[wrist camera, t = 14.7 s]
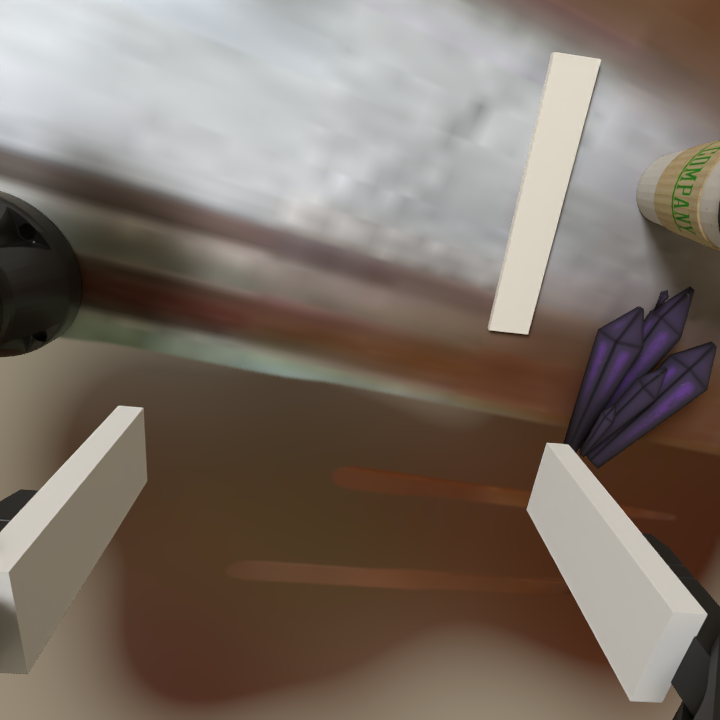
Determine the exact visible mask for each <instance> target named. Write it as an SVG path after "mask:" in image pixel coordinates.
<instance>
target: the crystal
mask: <svg viewBox="0 0 720 720" xmlns="http://www.w3.org/2000/svg"><path fill="white" fill-rule="evenodd" d="M693 293H694V289H693V288H692V287H688V288H687V289H685V290H684V291H682V292H680V293H679V294H677V295H676V296H674V297H672V298H671V299H669V300H668V301H666V300H667V299H668V297H669V296H668V291H667V290H666V291H663V292H661V293H660V296H659V299H658V302H657V304H656V307H655V309H653V310H652V311H650V312H649V314H648V315H647V317H646V318H645V320H644V309H643V308H641V307H637V308H635V309H633V310H631V311H630V312H628V313H626V314H624V315H623V316H621V317H619V318H617V319H616V320H614V321H612V322H610V323H609V324H607V325H605V326H603V327H602V328H600V329H598V332H597V335H596V338H595V342H594V345H593V348H592V351H591V355H590V358H589V361H588V365H587V368H586V371H585V374H584V378H583V381H582V384H581V388H580V391H579V394H578V397H577V401H576V404H575V407H574V411H573V414H572V417H571V420H570V424H569V427H568V430H567V433H566V437H565V440H564V444H567V445H569V446H570V447H571V448H572V449H573V451H574V452H575V453H576V452H577V450H578V449H579V448H580V455H581V456H583V457H584V456H586V455H587V457H588V459H589V460H590V461H591V462H592V463H593V464H594V465H595V466H596V467H597V468H599V467H601V466H602V465H603V464H605V463H606V462H607V461H609V460H610V459H612V458H613V457H615V456H616V455H617V454H619V453H620V452H622V451H623V450H624V449H626V448H627V447H629V446H630V445H631V444H633V443H634V442H635V441H637V440H638V439H640V438H641V437H642V436H644V435H645V434H647V433H648V432H649V431H651V430H652V429H654V428H655V427H656V426H658V425H659V424H660V423H662V422H663V421H665V420H666V419H667V418H669V417H670V416H672V415H673V414H674V413H676V412H677V411H679V410H680V409H681V408H683V407H684V406H685V405H687V404H688V403H690V402H691V401H692V400H694V399H695V398H697V397H698V396H699V395H701V394H702V393H704V392H705V391H706V390H707V388H708V383H709V379H710V374H711V370H712V366H713V361H714V357H715V352H716V348H717V347H716V345H715V344H714V343H712V342H709V343H706V344H703V345H700V346H696V347H693V348H690V349H687V350H684V351H681V352H678V353H675V354H671V355H669V357H668V358H667V359H666V360H665V361H664V362H663V363H662V364H661V366H660V367H659V368H658V369H657V370H655V371H653V372H650V371H651V370H652V369H653V368H654V367H655V366H656V365H657V364H658V363H659V362H660V360H661V359H662V358H663V357H664V356H665V355H666V354H667V353H668V352H669V351H670V350H671V348H672V347H673V346H674V345H675V344H676V343H677V342H678V341H679V340H680V338H681V335H682V332H683V328H684V325H685V321H686V318H687V314H688V311H689V307H690V304H691V300H692V297H693ZM665 301H666V302H665ZM662 303H663V304H662ZM649 372H650V373H649Z"/></svg>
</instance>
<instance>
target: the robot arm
mask: <svg viewBox="0 0 720 720" xmlns="http://www.w3.org/2000/svg"><path fill="white" fill-rule="evenodd" d="M81 295H82V283H81V276H80V271H79V267H78V264H77V261H76V258H75V256H74V254H73V251H72V250H71V248H70V246H69V244H68V242H67V241H66V239H65V238H64V236H63V235H62V234H61V232H60V231H59V230H58V229H57V227H56V226H55V225H54V224H53V223H52V222H51V221H50V220H49V219H48V218H47V217H46V216H45V215H43V214H42V213H41V212H40V211H38V210H37V209H36V208H34V207H33V206H31V205H30V204H28V203H26V202H25V201H23V200H21V199H19V198H17V197H15V196H13V195H10V194H7V193H5V192H1V191H0V357H9V356H17V355H22V354H25V353H29V352H32V351H34V350H37V349H39V348H41V347H43V346H44V345H46V344H48V343H50V342H51V341H53V340H55V339H56V338H58V337H59V336H60V335H62V334H63V333H64V332H65V331H66V330H67V329H68V328H69V326H70V325H71V324H72V322H73V320H74V319H75V317H76V315H77V312H78V309H79V306H80V302H81ZM146 482H147V464H146V444H145V424H144V408H141V407H129V406H118V407H117V408H116V409H115V410H114V411H113V412H112V413H111V414H110V415H109V416H108V417H107V418H106V419H105V421H104V422H103V423H102V424H101V425H100V426H99V427H98V428H97V429H96V430H95V431H94V432H93V433H92V435H91V436H90V437H89V438H88V439H87V440H86V441H85V442H84V443H83V444H82V445H81V446H80V447H79V448H78V450H76V452H75V453H74V454H73V455H72V456H71V457H70V458H69V459H68V460H67V461H66V462H65V463H64V465H62V467H61V468H60V469H59V470H58V471H57V472H56V473H55V474H54V475H53V476H52V477H51V478H50V479H49V480H48V482H47V483H46V484H45V485H44V486H43V487H42V488H41V489H40V490H39V491H35V490H19V491H17V492H16V493H14V494H12V495H11V496H9V497H7V498H5V499H4V500H2V501H0V673H13V674H15V673H16V674H28V673H29V672H30V669H31V668H32V667H33V665H34V663H35V662H36V660H37V659H38V657H39V655H40V654H41V652H42V651H43V649H44V647H45V646H46V644H47V643H48V641H49V639H50V638H51V636H52V634H53V633H54V631H55V630H56V628H57V626H58V625H59V623H60V621H61V620H62V618H63V617H64V615H65V613H66V612H67V610H68V609H69V607H70V605H71V604H72V602H73V600H74V599H75V597H76V596H77V594H78V592H79V591H80V589H81V587H82V586H83V584H84V583H85V581H86V579H87V578H88V576H89V575H90V573H91V571H92V569H93V568H94V566H95V565H96V563H97V562H98V560H99V558H100V557H101V555H102V554H103V552H104V550H105V549H106V547H107V545H108V544H109V542H110V541H111V539H112V537H113V536H114V534H115V533H116V531H117V529H118V528H119V526H120V524H121V523H122V521H123V520H124V518H125V516H126V515H127V513H128V511H129V510H130V508H131V507H132V505H133V503H134V502H135V500H136V499H137V497H138V495H139V494H140V492H141V490H142V489H143V487H144V485H145V484H146ZM527 511H528V513H529V515H530V517H531V519H532V520H533V522H534V524H535V526H536V528H537V530H538V532H539V533H540V535H541V537H542V539H543V541H544V543H545V545H546V546H547V548H548V550H549V552H550V553H551V556H552V557H553V559H554V561H555V563H556V565H557V567H558V569H559V570H560V572H561V574H562V576H563V578H564V580H565V581H566V583H567V585H568V587H569V589H570V591H571V593H572V594H573V596H574V598H575V600H576V602H577V604H578V605H579V607H580V609H581V611H582V613H583V615H584V617H585V618H586V620H587V622H588V624H589V626H590V628H591V629H592V631H593V633H594V635H595V637H596V639H597V641H598V642H599V644H600V646H601V648H602V649H603V652H604V653H605V655H606V657H607V659H608V661H609V663H610V665H611V666H612V668H613V670H614V672H615V674H616V676H617V677H618V679H619V681H620V683H621V685H622V686H623V688H624V690H625V692H626V694H627V696H628V698H629V700H630V701H639V702H640V701H641V702H663V700H664V698H665V696H666V694H667V692H668V690H669V688H670V686H671V684H672V685H673V686H674V688H675V689H676V691H677V693H678V694H679V696H680V697H681V699H682V700H683V701H682V703H681V705H680V707H679V709H678V711H677V712H676V714H675V716H674V718H673V720H720V606H719V605H718V604H717V603H716V602H715V601H714V599H713V598H712V597H711V596H710V595H709V594H708V592H707V591H706V590H705V589H704V588H703V587H702V586H701V585H700V583H699V582H698V581H697V580H695V579H694V576H693V575H692V574H691V573H690V572H689V570H688V569H687V568H686V567H683V564H682V562H681V561H680V560H679V559H678V558H677V556H676V555H675V554H674V553H673V552H672V551H671V550H670V548H668V547H667V546H666V545H665V544H663V543H662V542H661V541H659V540H658V539H656V538H655V537H654V536H653V535H651V534H642V533H641V532H640V531H639V530H638V529H637V527H636V526H635V525H634V524H633V523H632V521H631V520H630V519H629V518H628V516H627V515H626V514H625V513H624V512H623V510H622V509H621V508H620V507H619V505H618V504H617V503H616V502H615V501H614V500H613V498H612V497H611V496H610V494H609V493H608V492H607V491H606V490H605V488H604V487H603V486H602V485H601V483H600V482H599V481H598V480H597V479H596V477H595V476H594V475H593V474H592V472H591V471H590V470H589V469H588V468H587V466H586V465H585V464H584V463H583V462H582V460H581V459H580V458H579V457H578V455H577V454H576V453H575V452H574V451H573V449H572V448H571V447H570V446H569V445H567V444H556V443H547V444H546V447H545V450H544V454H543V457H542V460H541V464H540V467H539V470H538V474H537V477H536V480H535V484H534V487H533V490H532V493H531V497H530V500H529V503H528V507H527Z"/></svg>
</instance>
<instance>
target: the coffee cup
mask: <svg viewBox="0 0 720 720" xmlns="http://www.w3.org/2000/svg"><path fill="white" fill-rule="evenodd" d="M637 204H638V207H639V210H640V211H641V213H642V214H643V216H644V217H646V218H647V219H648V220H650V221H652V222H654V223H657V224H659V225H662V226H664V227H666V228H667V229H668V230H670V231H672V232H674V233H676V234H679V235H681V236H683V237H686V238H688V239H691V240H693V241H695V242H698V243H700V244H703V245H705V246H707V247H710V248H712V249H715V250H717V251H719V252H720V140H718V141H714V142H710V143H706V144H701V145H697V146H695V147H692V148H689V149H687V150H683V151H678V152H674V153H670V154H667V155H664V156H662V157H660V158H659V159H657V160H656V161H654V162H653V163H652V164H651V165H650V166H649V167H648V168H647V169H646V171H645V172H644V174H643V175H642V177H641V179H640V182H639V184H638V188H637Z"/></svg>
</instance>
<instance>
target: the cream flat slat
mask: <svg viewBox="0 0 720 720" xmlns="http://www.w3.org/2000/svg"><path fill="white" fill-rule="evenodd" d="M600 62H601V59H596V58H589V57H583V56H577V55H570V54H564V53H558V52H553V53H552V54H551V58H550V62H549V66H548V71H547V75H546V79H545V83H544V88H543V92H542V96H541V101H540V105H539V109H538V114H537V118H536V122H535V126H534V131H533V135H532V139H531V144H530V148H529V152H528V157H527V161H526V165H525V169H524V174H523V178H522V182H521V187H520V191H519V195H518V199H517V204H516V208H515V212H514V217H513V221H512V225H511V230H510V234H509V238H508V242H507V247H506V251H505V255H504V260H503V264H502V268H501V273H500V277H499V281H498V285H497V290H496V294H495V298H494V303H493V307H492V311H491V316H490V320H489V324H488V329H489V330H492V331H501V332H510V333H519V334H528V333H529V329H530V325H531V321H532V318H533V314H534V310H535V306H536V303H537V299H538V295H539V291H540V288H541V284H542V280H543V276H544V272H545V269H546V265H547V261H548V257H549V254H550V250H551V246H552V242H553V239H554V235H555V231H556V227H557V224H558V220H559V216H560V212H561V209H562V205H563V201H564V197H565V194H566V190H567V186H568V182H569V178H570V175H571V171H572V167H573V163H574V160H575V156H576V152H577V148H578V145H579V141H580V137H581V133H582V130H583V126H584V122H585V118H586V115H587V111H588V107H589V103H590V99H591V96H592V92H593V88H594V84H595V81H596V77H597V73H598V69H599V66H600Z"/></svg>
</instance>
